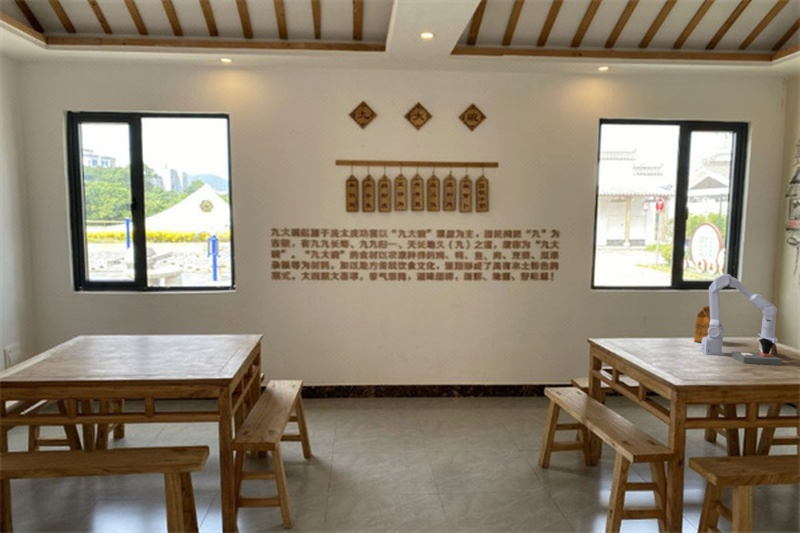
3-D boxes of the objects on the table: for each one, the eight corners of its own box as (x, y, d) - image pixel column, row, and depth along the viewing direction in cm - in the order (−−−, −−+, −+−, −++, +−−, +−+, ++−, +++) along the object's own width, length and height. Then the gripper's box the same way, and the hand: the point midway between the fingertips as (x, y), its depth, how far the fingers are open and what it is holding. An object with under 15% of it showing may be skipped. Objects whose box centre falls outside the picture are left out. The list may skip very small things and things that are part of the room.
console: (743, 363, 261) (744, 357, 261) (731, 356, 273) (731, 351, 273) (781, 365, 259) (782, 359, 259) (767, 358, 271) (768, 353, 270)
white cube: (744, 361, 265) (745, 354, 264) (740, 359, 269) (741, 352, 268) (752, 361, 264) (753, 355, 264) (748, 359, 268) (749, 352, 268)
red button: (763, 360, 264) (763, 354, 263) (758, 358, 268) (759, 352, 267) (771, 361, 263) (772, 354, 263) (767, 359, 267) (767, 352, 267)
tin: (776, 359, 271) (778, 343, 270) (770, 358, 272) (771, 343, 271) (762, 351, 286) (764, 337, 285) (756, 351, 286) (758, 336, 285)
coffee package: (719, 342, 304) (722, 306, 302) (708, 345, 298) (711, 308, 296) (702, 339, 313) (705, 304, 311) (691, 341, 307) (693, 305, 304)
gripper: (785, 331, 256) (782, 357, 257) (768, 325, 270) (766, 350, 272) (770, 330, 257) (767, 356, 258) (754, 324, 271) (751, 349, 272)
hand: (765, 353), depth 265 cm, fingers closed, pressing on red button
